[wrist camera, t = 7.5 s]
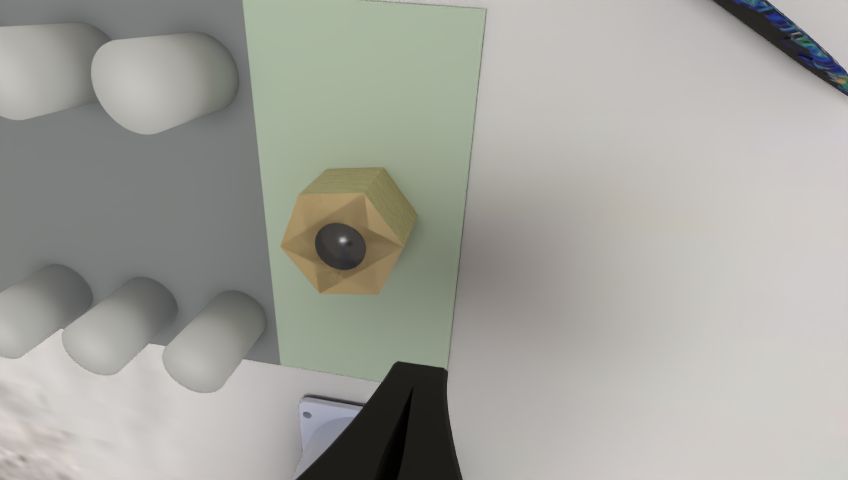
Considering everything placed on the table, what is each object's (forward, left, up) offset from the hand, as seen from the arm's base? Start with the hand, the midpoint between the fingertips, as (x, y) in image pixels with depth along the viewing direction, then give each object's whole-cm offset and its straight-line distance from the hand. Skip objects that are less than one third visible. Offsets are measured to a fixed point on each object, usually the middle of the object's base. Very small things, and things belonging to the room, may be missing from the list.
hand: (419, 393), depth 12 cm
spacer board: (0, +13, -9) cm, 16 cm away
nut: (0, +4, -9) cm, 10 cm away
